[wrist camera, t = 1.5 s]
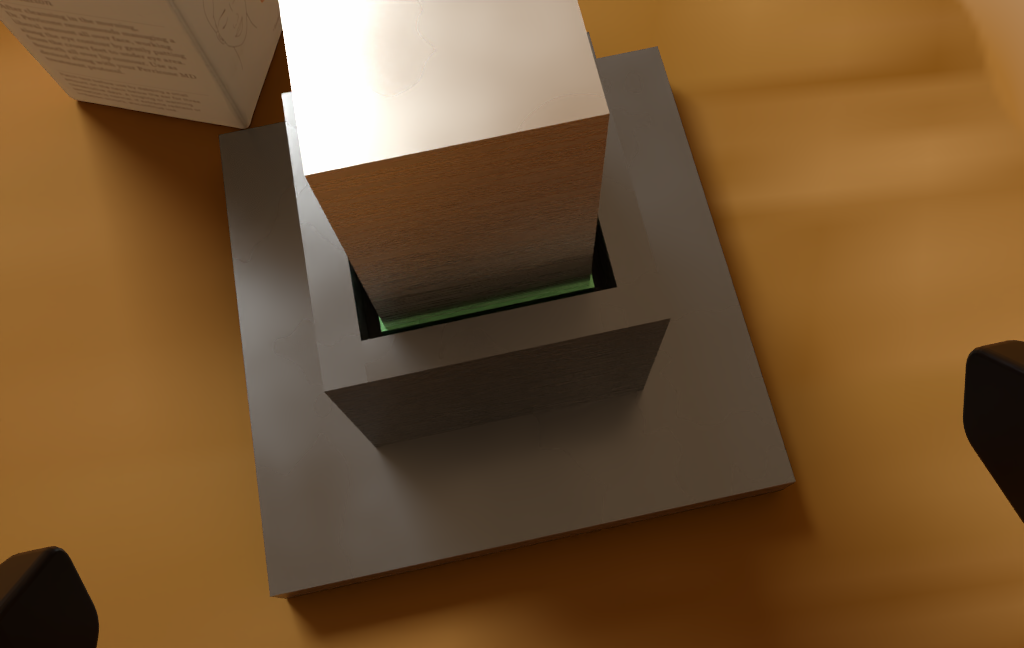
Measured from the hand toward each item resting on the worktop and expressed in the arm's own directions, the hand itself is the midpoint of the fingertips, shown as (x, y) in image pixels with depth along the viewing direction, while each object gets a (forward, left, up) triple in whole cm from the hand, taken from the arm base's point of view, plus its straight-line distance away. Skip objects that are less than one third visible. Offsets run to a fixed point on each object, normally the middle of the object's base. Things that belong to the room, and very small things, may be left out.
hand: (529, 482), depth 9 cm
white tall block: (+6, -3, -11) cm, 13 cm away
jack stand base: (+6, -3, -13) cm, 14 cm away
